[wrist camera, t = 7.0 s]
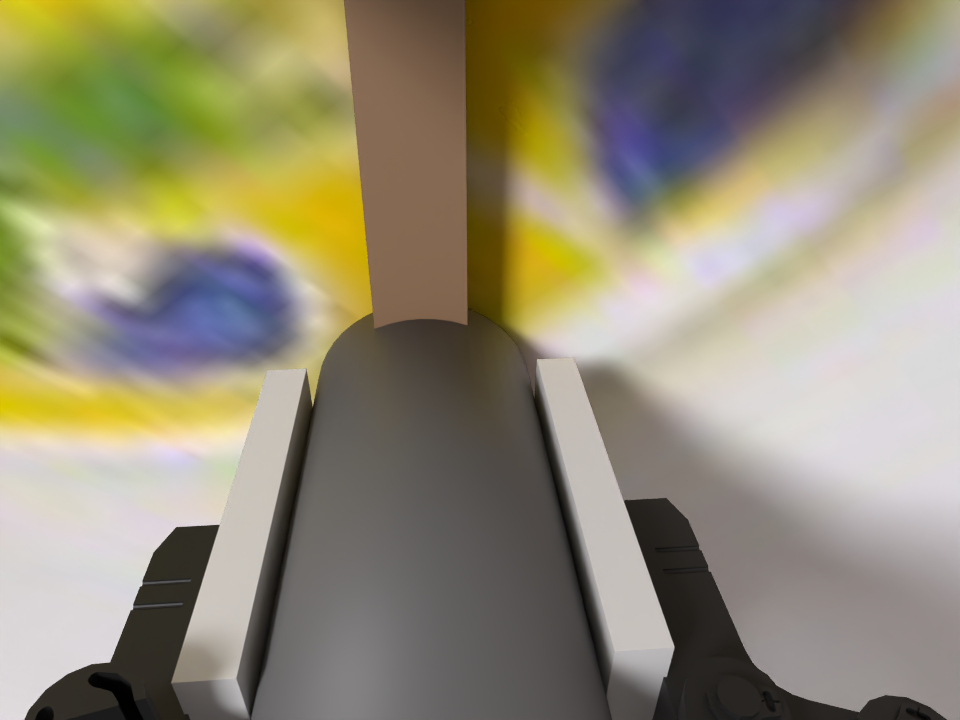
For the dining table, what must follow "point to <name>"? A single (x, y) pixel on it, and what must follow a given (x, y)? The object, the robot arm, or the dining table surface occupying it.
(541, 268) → the dining table surface
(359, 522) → the block
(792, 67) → the dining table surface
